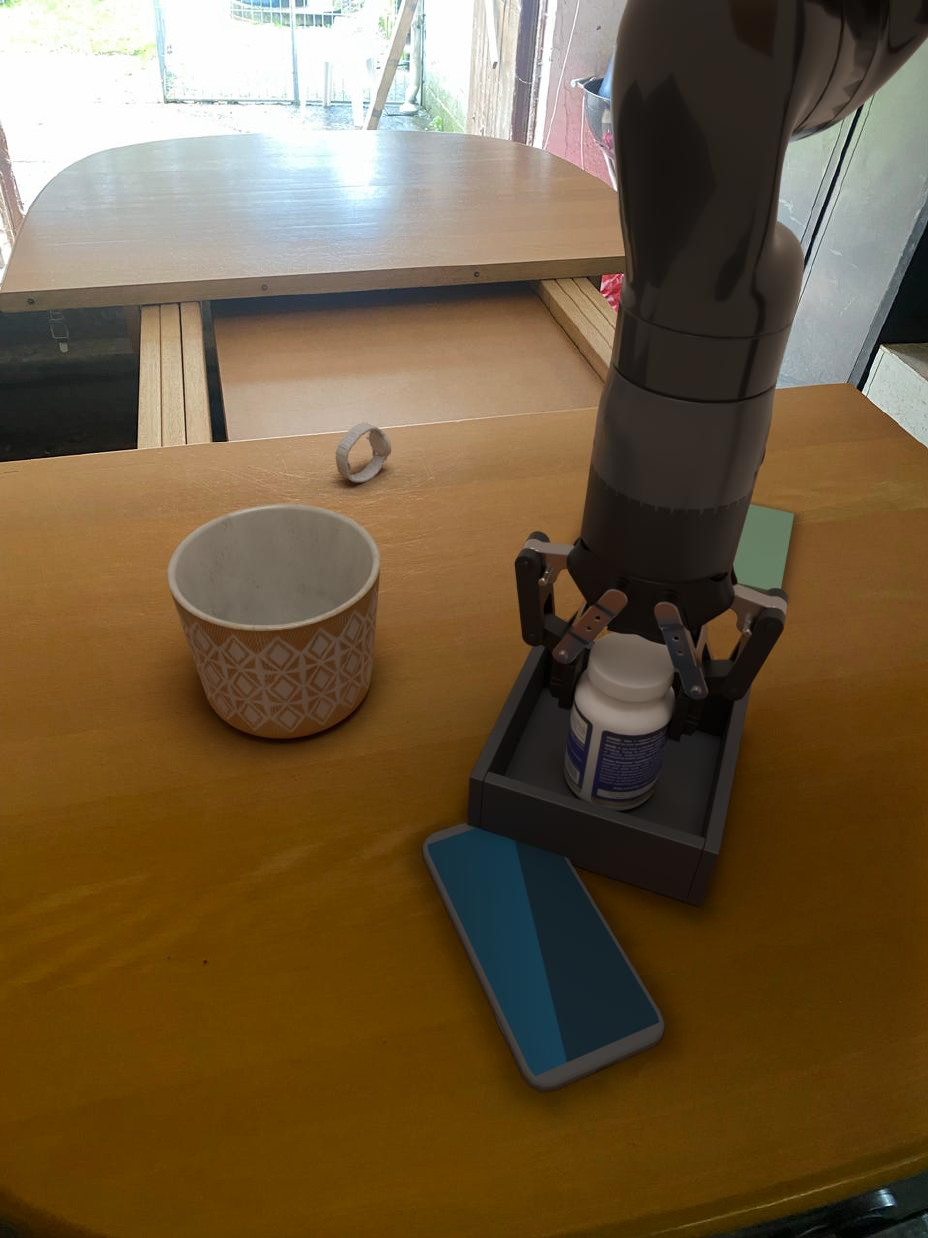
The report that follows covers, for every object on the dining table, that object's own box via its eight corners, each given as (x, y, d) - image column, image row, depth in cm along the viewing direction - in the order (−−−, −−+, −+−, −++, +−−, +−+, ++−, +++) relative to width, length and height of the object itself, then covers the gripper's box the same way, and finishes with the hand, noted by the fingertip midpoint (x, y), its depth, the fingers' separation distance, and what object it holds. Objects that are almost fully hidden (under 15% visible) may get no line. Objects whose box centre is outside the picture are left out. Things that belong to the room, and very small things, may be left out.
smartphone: (534, 808, 55) (535, 799, 55) (671, 1041, 45) (675, 1032, 44) (416, 848, 53) (415, 838, 52) (531, 1103, 42) (533, 1094, 42)
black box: (734, 735, 60) (752, 682, 57) (700, 907, 50) (718, 854, 47) (535, 680, 63) (541, 627, 60) (466, 830, 53) (469, 776, 50)
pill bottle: (671, 769, 57) (703, 650, 51) (630, 830, 53) (658, 710, 47) (589, 729, 59) (610, 610, 53) (544, 785, 56) (561, 665, 49)
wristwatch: (393, 472, 83) (392, 423, 80) (353, 494, 80) (350, 443, 77) (371, 461, 85) (369, 412, 82) (330, 482, 82) (327, 431, 79)
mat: (793, 517, 80) (794, 513, 80) (779, 596, 71) (780, 592, 71) (613, 478, 84) (614, 474, 84) (579, 549, 75) (580, 545, 75)
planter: (227, 783, 55) (201, 655, 49) (172, 656, 64) (143, 532, 57) (416, 715, 60) (415, 590, 54) (341, 605, 69) (333, 485, 62)
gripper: (499, 464, 41) (482, 725, 52) (832, 537, 37) (739, 801, 48) (546, 394, 46) (522, 643, 57) (841, 452, 43) (756, 706, 54)
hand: (621, 714), depth 53 cm, fingers closed on pill bottle, 5 cm apart
